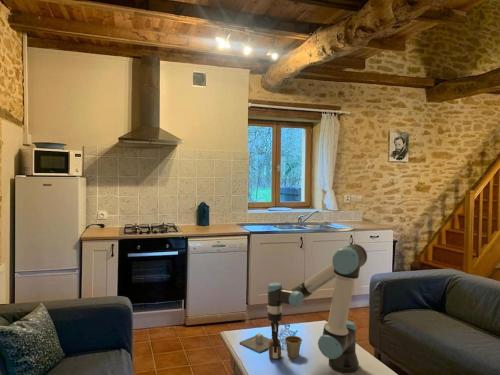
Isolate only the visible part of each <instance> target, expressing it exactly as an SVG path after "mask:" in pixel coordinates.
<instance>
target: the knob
mask: <svg viewBox="0 0 500 375" xmlns="http://www.w3.org/2000/svg"><path fill="white" fill-rule="evenodd" d="M269 339H270V340H269V349H268V358H269V359H274V358H273V346H272V345H273V339H272V338H269ZM277 359H282V345H281V339H280V338H278V358H277Z"/></svg>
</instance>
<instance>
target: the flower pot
mask: <svg viewBox="0 0 500 375" xmlns="http://www.w3.org/2000/svg"><path fill="white" fill-rule="evenodd" d="M284 341H285V344H286V352H287V356H288V357H289V358H298V357H299V356H300V350H301V344H302V342H303V338H301V337H299V336H296V335H288V336H286V337H284Z"/></svg>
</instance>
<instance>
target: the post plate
mask: <svg viewBox="0 0 500 375" xmlns="http://www.w3.org/2000/svg"><path fill="white" fill-rule="evenodd" d="M270 339H271V338H269V337H266V336H264V334H262V333H256V334H255V335H253V336H251V337H249V338H246V339H244V340H242V341H239V345H241V346H244V347H246V348H247V349H249V350H252V351H254V352H256V353H258V354H261V353H264V352H265V351H269V340H270Z"/></svg>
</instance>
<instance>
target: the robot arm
mask: <svg viewBox="0 0 500 375" xmlns="http://www.w3.org/2000/svg"><path fill="white" fill-rule="evenodd" d="M367 260H368V253H367V251H366V249H365V248H364V247H363V246H362V245H360V244H357V243H353V244H349V245H346V246H343V247H340V248H338V249H337V250H336V251H335V252H334V254H333V255H332V261H331V263H330V264H328V265H327V266H325V267H324V268H322V269H321V270H320V271H318V272H316V273H315V274H314V275H312V276H311V277H308V279H306V280H305V281H303V282H302V283H300V284H298V285H297V286H296V287H293V288H291V289H288V288H283V286H282V283H280V282H270V283H269V284H268V285H267V306H266V308H267V320H268V321H270V325H271V328H270V329H271V339H273V345H272V346H273V358H272V359H279V358H278V339H279V328H280V327H279V326H280V325H279V322H281V321H282V320H283V318H282V317H283V313H282V311H283V304H285V305H287V306H288V305H289V306H292V307H301V306H302V304H303V302H304V299H307V298H308V297H310V296H311V295H313V294H315V293H316V292H317V291H319V290H321V289H322V288H324V287H325V286H327V285H328V284H329V283H331V282H333V281H334V287H333V292H332V296H331V302H330V310H329V314H328V319H327V320H328V321H327V322H326V323H324V325H323V331H322V335H320V336H319V339H318V341H317V346H318V349H319V351H320V352H321V354H322V355H323V356H324V357H326V358H327V359H328V367H329V368H331V369H332V370H334V371H336V372H340V373H344V374H345V373H346V374H349V373H355V372H357V371H358V370H359V367H360V365H359V364H360V362H359V359H358V355H357V353H356V350H357V349H356V348H357V346H356V343H357V340H356V339H357V325H356V323H355V322H353V321H351V320H348V318H349V312H350V307H351V301H352V294H353V292H354V291H353V290H354V284H355V280H357V279H359V276H360V270H361V269H360V268H361V267H363V266H364V265H365V264H366V263H367Z"/></svg>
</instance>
